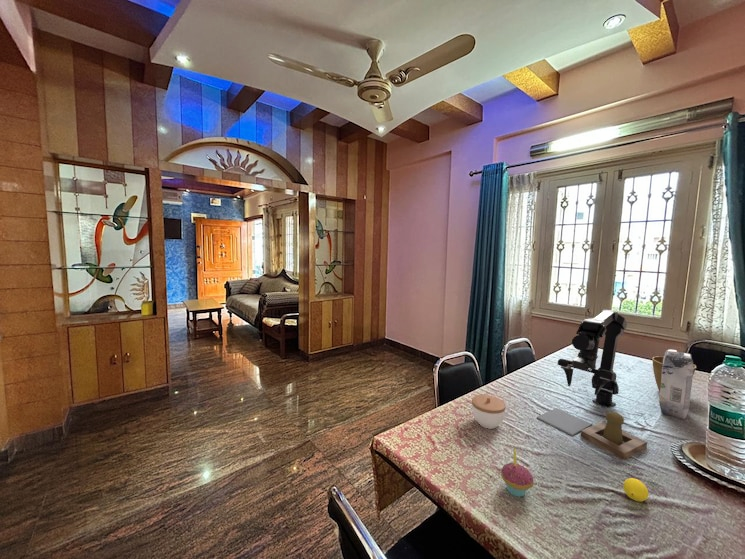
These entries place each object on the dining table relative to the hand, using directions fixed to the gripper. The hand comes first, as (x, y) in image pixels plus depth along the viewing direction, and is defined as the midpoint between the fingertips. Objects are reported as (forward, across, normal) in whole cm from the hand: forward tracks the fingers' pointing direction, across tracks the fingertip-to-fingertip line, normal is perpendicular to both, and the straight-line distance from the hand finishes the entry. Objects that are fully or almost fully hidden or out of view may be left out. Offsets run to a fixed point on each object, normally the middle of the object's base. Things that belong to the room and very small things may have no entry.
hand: (581, 390), depth 121 cm
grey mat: (+14, -4, 0) cm, 15 cm away
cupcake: (+27, +3, -48) cm, 55 cm away
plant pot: (-3, +16, +64) cm, 66 cm away
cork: (+15, +12, 0) cm, 19 cm away
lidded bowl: (+21, -22, -25) cm, 40 cm away
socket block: (+14, +12, 0) cm, 19 cm away
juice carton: (+3, +20, +43) cm, 48 cm away
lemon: (+21, +24, -24) cm, 40 cm away
